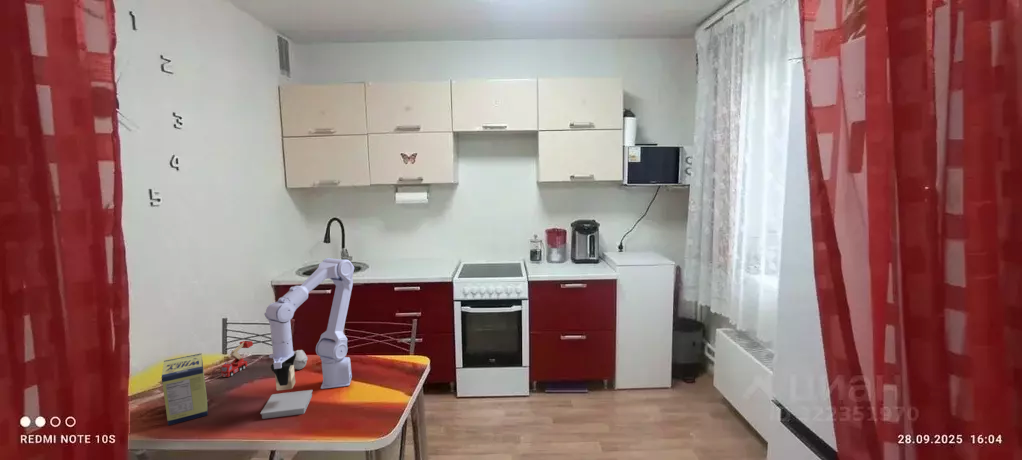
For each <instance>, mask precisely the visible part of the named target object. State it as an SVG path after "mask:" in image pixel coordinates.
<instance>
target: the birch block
mask: <svg viewBox="0 0 1022 460" xmlns="http://www.w3.org/2000/svg"><path fill="white" fill-rule="evenodd" d="M295 376H296V374H295V368H294V365H291V366H290V369H289V375H288V384H287V385H283V386H280V384H279V382H278V379H277V377H276V375H275V374H274V377H275V387H276V388H275V389H276V391H278V392H279V391H284V390H287V391H288V390H293V388H294V386H295V384H296V377H295Z"/></svg>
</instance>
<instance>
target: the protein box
mask: <svg viewBox="0 0 1022 460" xmlns="http://www.w3.org/2000/svg"><path fill="white" fill-rule="evenodd" d="M202 356H203V355H202V353H196V354H191V355H186V356H181V357H176V358H171V359H166V360H163V366H162V372H161V383H162V391H163V397H164V398H163V399H164V405H165V410H166V411H165V412H166V420H167V426H171V425H176V424H179V423H184V422H186V421H190V420H193V419H198V418H202V417H205V416H206V417H207V416H208V415H209V414H208V413H209V410H208V395H207V387H206V386H207V385H206V379H205V378H206V377H205V371H204V364H203V363H204V361H203V357H202Z"/></svg>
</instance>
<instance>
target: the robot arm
mask: <svg viewBox="0 0 1022 460" xmlns="http://www.w3.org/2000/svg"><path fill="white" fill-rule="evenodd" d="M354 271H355V266H354V265H353V263H352V261H350V260H349V259H346V258H345V259H340V258H331V257H327V258H324V259H323V260H322V261H321V262H320V263H319V264H318V268H316V270H315V271H313V273H311V274H310V275H309V277H307V279H305V280H304V282H302V284H300V285H294V286H291V287H290V288H289V290H288V291H287V292H286V293H285V294H283V296H281V297H279V298H278V300H277V301H275V302H272V303H270V304H269V305H268V306H267V307H266V310H265V312H264V316H265V319H267V320H268V325H269V327H270V328H269V329H270V337H271V338H270V339H271V347H272V353H270V354H269V355H268V358H269V359H273V363H272V364H271V365H270V369H271V371H272V372H273V373H274V376H275V375H276V377H277V379H278V382H279V384H280V386H283V385H287V384H288V375H289V369H290V366H291V365H293V364H294V360H295V357H296V354H294V351H295V350H294V347H293V345H294V344H293V336H292V335H293V334H292V326H291V324H292V323H291V320H292V319H293V318H294V315H295V312H296V311H297V309H298V308H299V307H300V306H301V305H303V303H304V302H306V301H307V300H308V299H309V293H310V292H311V291H313V290H314V289H315V288H317V287H318V286H319V285H320V284H321V283H323V282H324V281H325V280H327V279H329V280H330V281H332V283H333V284H334V285H335V290H334V295H333V299H332V305H331V309H330V313H329V317H328V322H327V326H326V330H325V331H324V332H323V333H321V335H320V338H319V340H318V342H317V343H316V346H315V353H316V355H317V356H318V357H319V359H320V360H321V370H322V384H321V386H320V389H321V390H323V389H325V390H326V389H331V388H332V389H333V388H340V387H349V386H350V384H351V382H352V378H353V373H352V364H351V358H350V357H349V356H347V353H348V350H349V349H348V338H347V336H346V335H345V333H344V328H345V324H346V320H347V315H348V310H349V307H350V306H349V305H350V301H351V300H350V299H351V296H352V290H353V285H354V278H353V276H354Z"/></svg>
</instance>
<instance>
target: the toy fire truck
mask: <svg viewBox="0 0 1022 460" xmlns="http://www.w3.org/2000/svg"><path fill="white" fill-rule="evenodd" d="M253 345H254V343H253V341H252V340H244V341H243V340H242V341H240V342H239V345H238V346H237V347H236V348H235V349H233V350H231V353H230V356H231V357H233V358H234V360H232V362H230V363H226V362H225V363H224V364H222V365H221V377H224V378H229V377H233V376H234V374H237V373H238V372H241V371H243V370H245V369H246V367H248V361H245V358H243V357H242V356H241V355H240V353H239V352H238V351H240V350H241V349H249V348H251V347H252V346H253Z"/></svg>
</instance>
